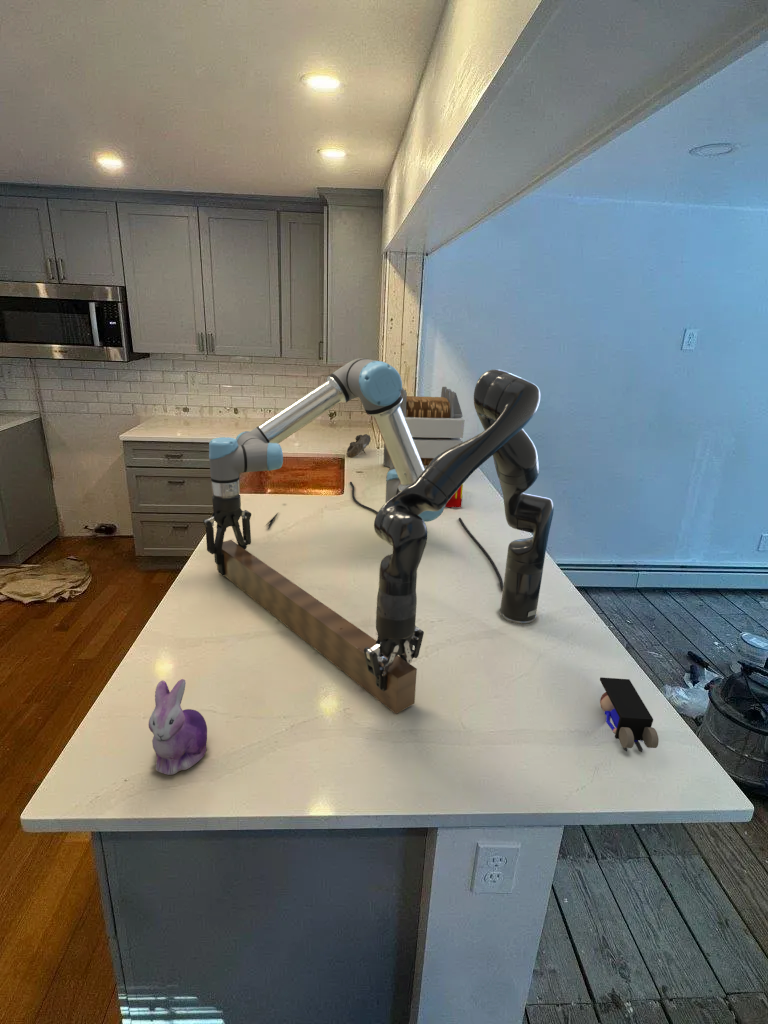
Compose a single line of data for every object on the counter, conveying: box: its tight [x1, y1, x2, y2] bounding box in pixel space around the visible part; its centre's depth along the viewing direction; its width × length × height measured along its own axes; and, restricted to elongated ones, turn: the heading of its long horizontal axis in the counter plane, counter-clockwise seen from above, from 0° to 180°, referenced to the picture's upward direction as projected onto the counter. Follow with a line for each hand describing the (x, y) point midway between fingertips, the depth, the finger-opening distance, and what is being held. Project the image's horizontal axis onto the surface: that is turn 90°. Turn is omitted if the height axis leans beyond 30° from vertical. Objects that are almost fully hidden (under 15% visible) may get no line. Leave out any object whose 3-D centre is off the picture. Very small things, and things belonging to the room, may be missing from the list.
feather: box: [265, 512, 279, 530], centre depth 210 cm, size 2×28×2 cm
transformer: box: [383, 386, 465, 471], centre depth 268 cm, size 34×33×41 cm
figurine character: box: [599, 676, 660, 753], centre depth 108 cm, size 7×8×15 cm
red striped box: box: [445, 483, 464, 508], centre depth 240 cm, size 12×13×30 cm
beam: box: [216, 539, 418, 715], centre depth 138 cm, size 78×5×8 cm, turn 41°
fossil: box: [346, 433, 372, 458], centre depth 305 cm, size 22×10×15 cm
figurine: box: [148, 678, 208, 776], centre depth 96 cm, size 9×10×15 cm
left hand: (231, 570), depth 164 cm, fingers closed on beam, 5 cm apart
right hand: (392, 682), depth 113 cm, fingers closed on beam, 5 cm apart
